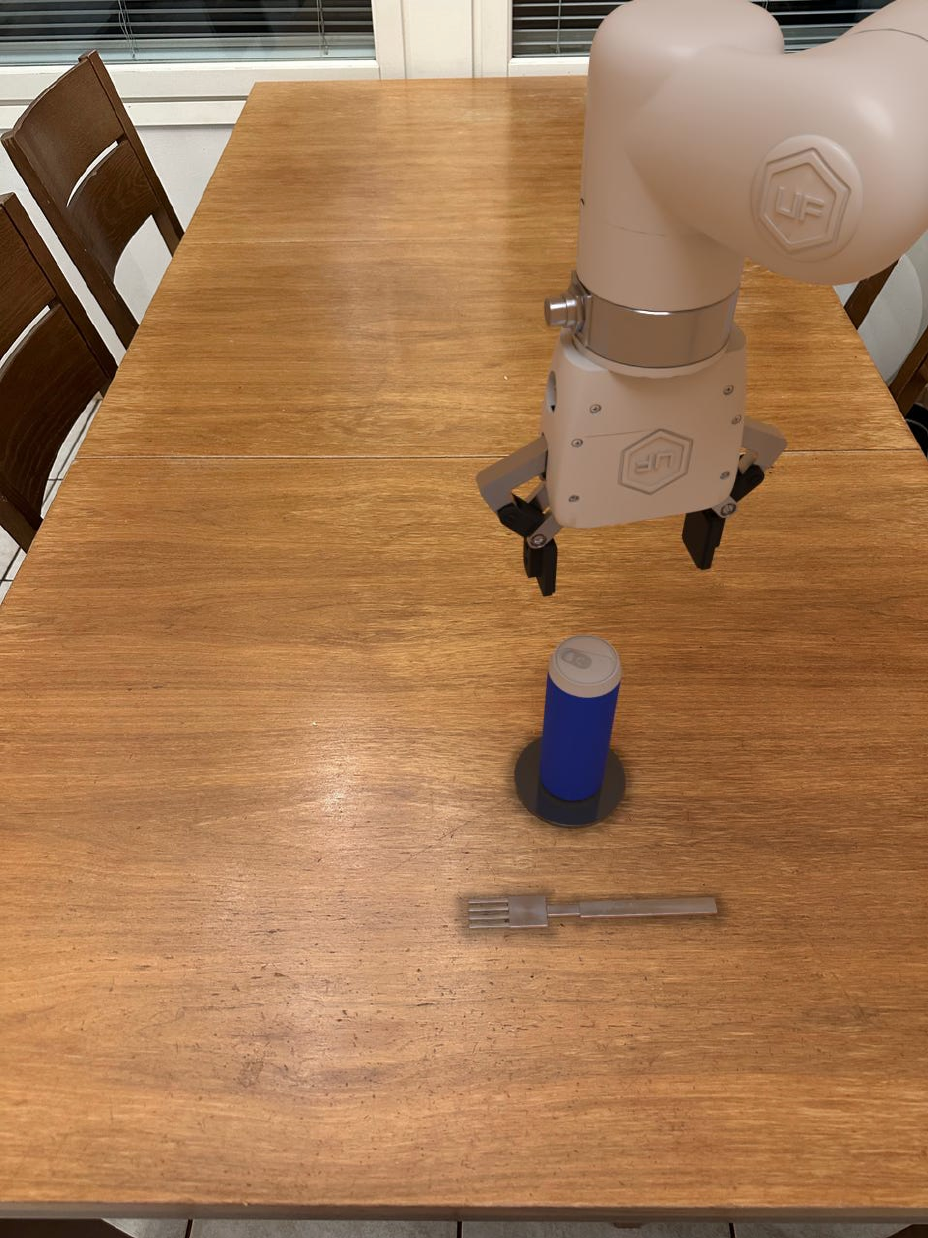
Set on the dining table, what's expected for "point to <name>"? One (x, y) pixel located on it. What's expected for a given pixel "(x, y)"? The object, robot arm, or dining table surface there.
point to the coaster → (566, 810)
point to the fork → (582, 910)
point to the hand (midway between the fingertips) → (619, 567)
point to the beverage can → (578, 716)
